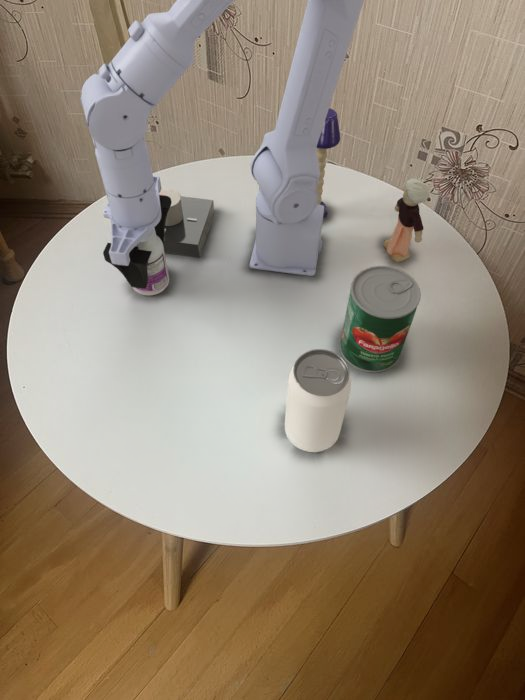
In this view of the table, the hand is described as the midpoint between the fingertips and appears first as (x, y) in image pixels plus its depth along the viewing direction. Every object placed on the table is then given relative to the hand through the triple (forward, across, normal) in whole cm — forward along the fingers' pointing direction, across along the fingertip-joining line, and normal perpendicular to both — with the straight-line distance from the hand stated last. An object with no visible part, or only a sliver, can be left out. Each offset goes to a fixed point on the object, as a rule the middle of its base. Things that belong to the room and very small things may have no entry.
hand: (147, 265), depth 77 cm
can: (+4, +19, +25) cm, 32 cm away
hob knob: (+1, -11, 0) cm, 11 cm away
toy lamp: (+4, -19, +21) cm, 29 cm away
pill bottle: (+4, 0, 0) cm, 4 cm away
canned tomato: (+4, +6, +31) cm, 32 cm away
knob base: (+3, -11, 0) cm, 12 cm away
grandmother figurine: (+4, -12, +34) cm, 36 cm away
